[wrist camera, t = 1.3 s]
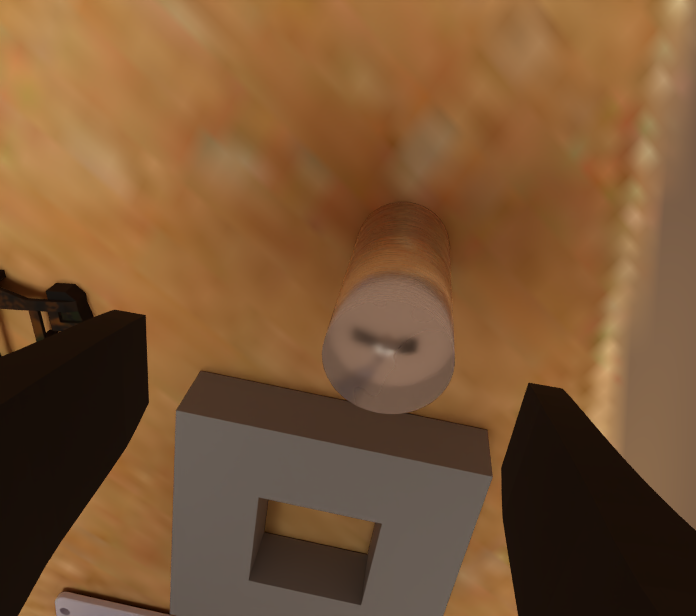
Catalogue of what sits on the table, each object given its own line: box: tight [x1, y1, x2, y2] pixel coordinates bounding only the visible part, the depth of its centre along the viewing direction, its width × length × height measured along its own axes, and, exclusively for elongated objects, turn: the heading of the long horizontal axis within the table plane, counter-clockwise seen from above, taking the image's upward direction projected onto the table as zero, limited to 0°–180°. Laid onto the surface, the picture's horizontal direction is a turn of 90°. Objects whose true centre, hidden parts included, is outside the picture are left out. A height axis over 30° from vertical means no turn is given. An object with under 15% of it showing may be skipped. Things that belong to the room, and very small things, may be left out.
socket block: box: [170, 371, 493, 616], centre depth 25 cm, size 11×11×2 cm
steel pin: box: [322, 202, 455, 414], centre depth 17 cm, size 3×3×7 cm
